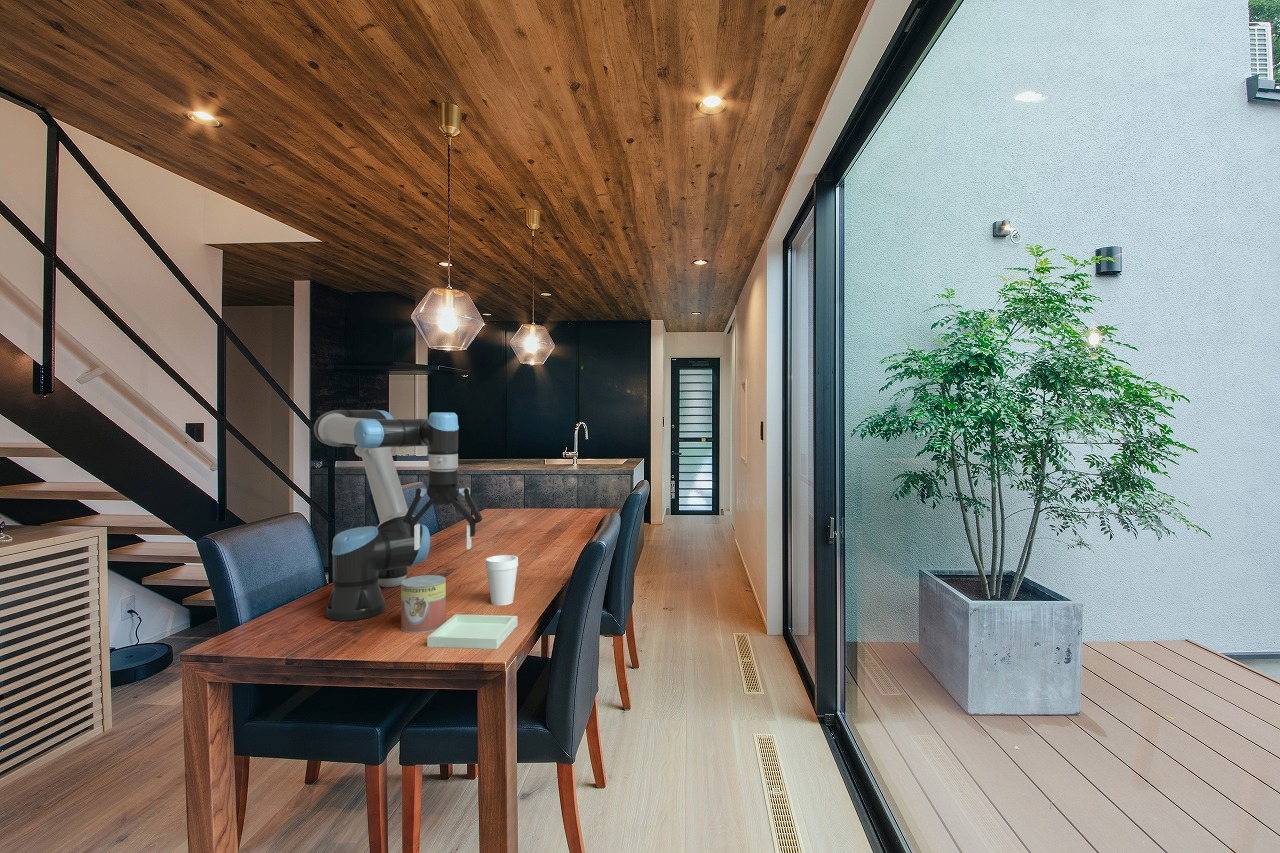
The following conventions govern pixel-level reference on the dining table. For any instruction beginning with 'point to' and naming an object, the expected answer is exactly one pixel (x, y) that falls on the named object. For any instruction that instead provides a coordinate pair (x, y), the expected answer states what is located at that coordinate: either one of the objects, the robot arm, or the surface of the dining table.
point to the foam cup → (502, 578)
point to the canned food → (423, 603)
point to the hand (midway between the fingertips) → (443, 548)
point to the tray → (473, 631)
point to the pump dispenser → (392, 577)
